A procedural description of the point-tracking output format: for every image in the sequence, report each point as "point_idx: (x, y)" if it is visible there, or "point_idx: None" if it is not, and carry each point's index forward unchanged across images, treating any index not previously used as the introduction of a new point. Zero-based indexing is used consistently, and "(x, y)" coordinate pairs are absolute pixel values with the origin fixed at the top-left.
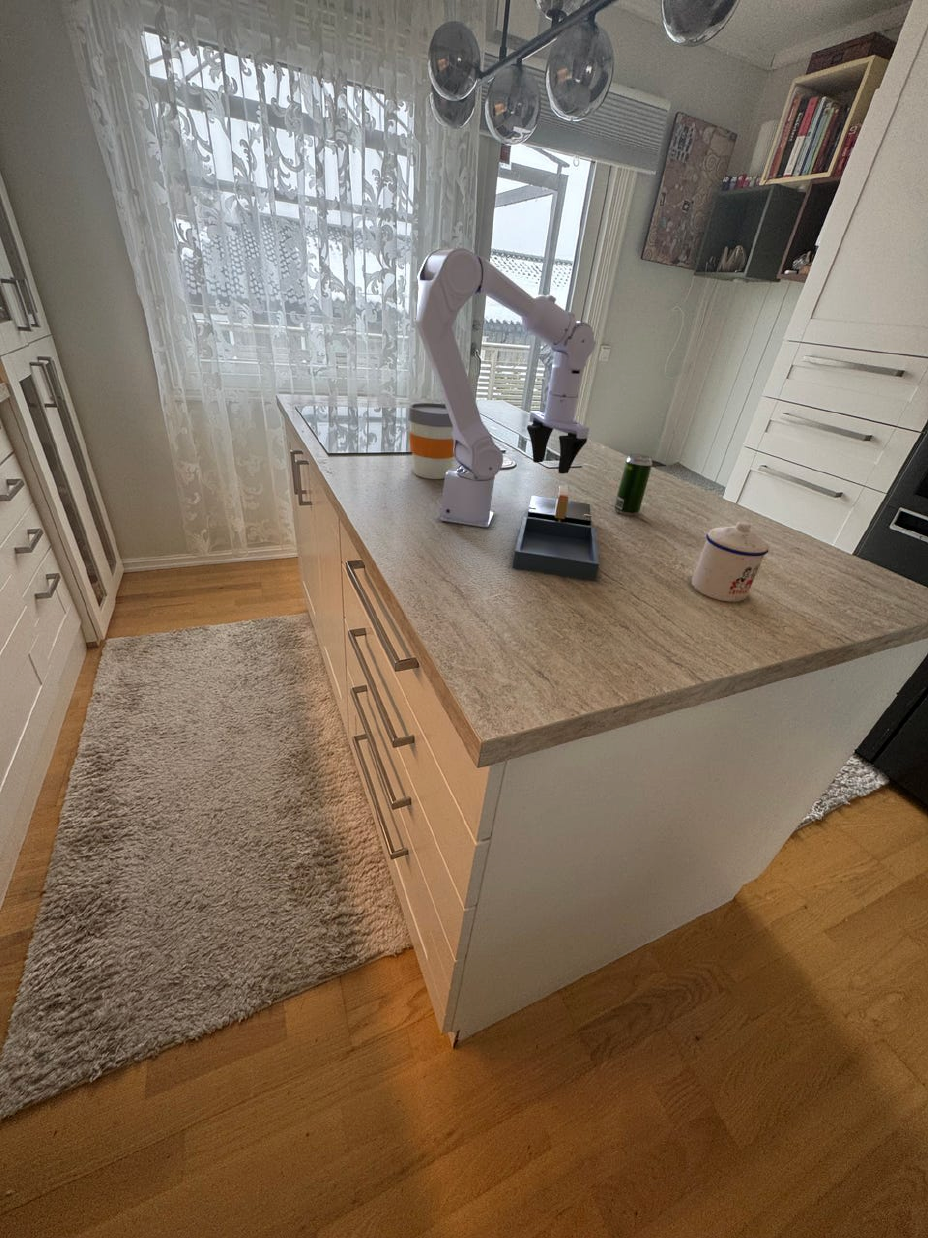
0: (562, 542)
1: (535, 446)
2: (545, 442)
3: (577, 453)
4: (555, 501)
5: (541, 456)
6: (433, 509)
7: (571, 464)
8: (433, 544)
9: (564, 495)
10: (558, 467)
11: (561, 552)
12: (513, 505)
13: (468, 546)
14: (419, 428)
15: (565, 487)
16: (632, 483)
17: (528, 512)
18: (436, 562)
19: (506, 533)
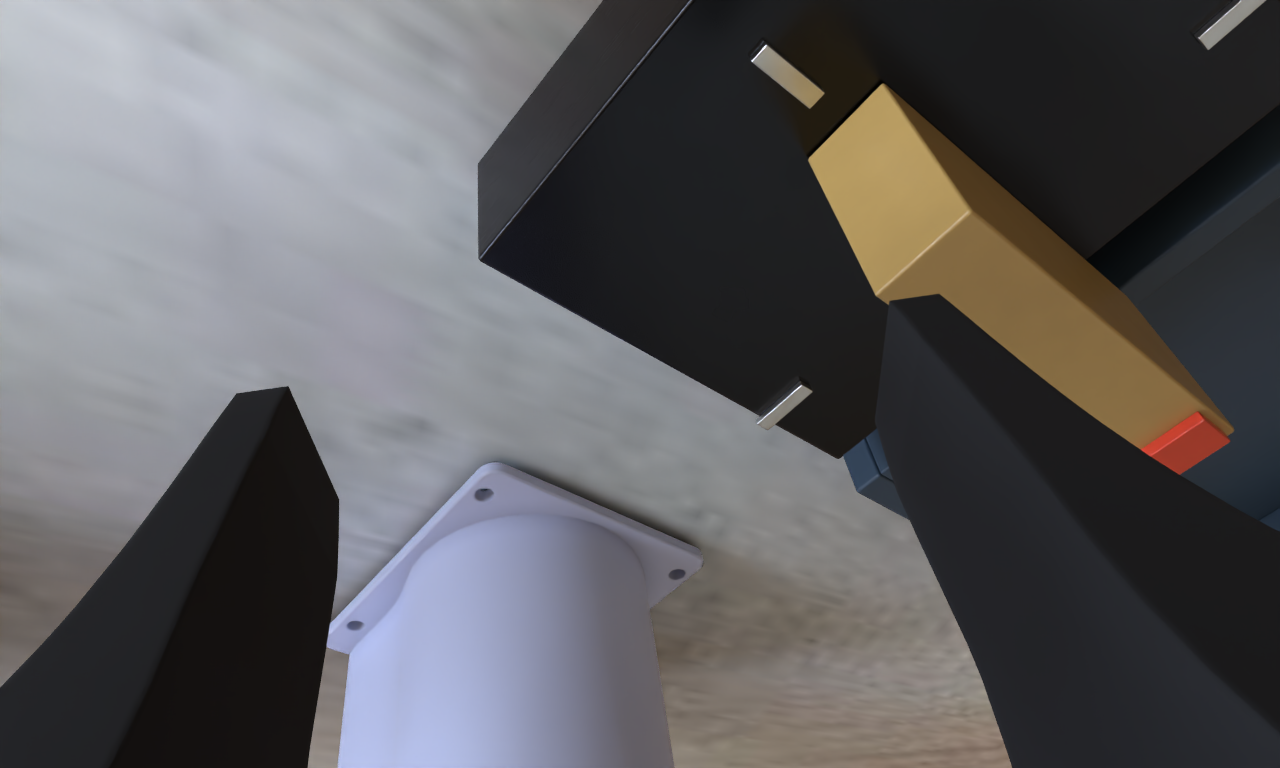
0: (1161, 289)
1: (305, 758)
2: (198, 687)
3: (1220, 505)
4: (724, 104)
5: (288, 491)
6: (336, 684)
7: (1023, 367)
8: (766, 742)
9: (1181, 449)
10: (899, 494)
11: (1241, 369)
12: (286, 225)
13: (851, 660)
14: None
15: (988, 280)
16: None
17: (836, 453)
18: (910, 755)
19: (807, 486)
